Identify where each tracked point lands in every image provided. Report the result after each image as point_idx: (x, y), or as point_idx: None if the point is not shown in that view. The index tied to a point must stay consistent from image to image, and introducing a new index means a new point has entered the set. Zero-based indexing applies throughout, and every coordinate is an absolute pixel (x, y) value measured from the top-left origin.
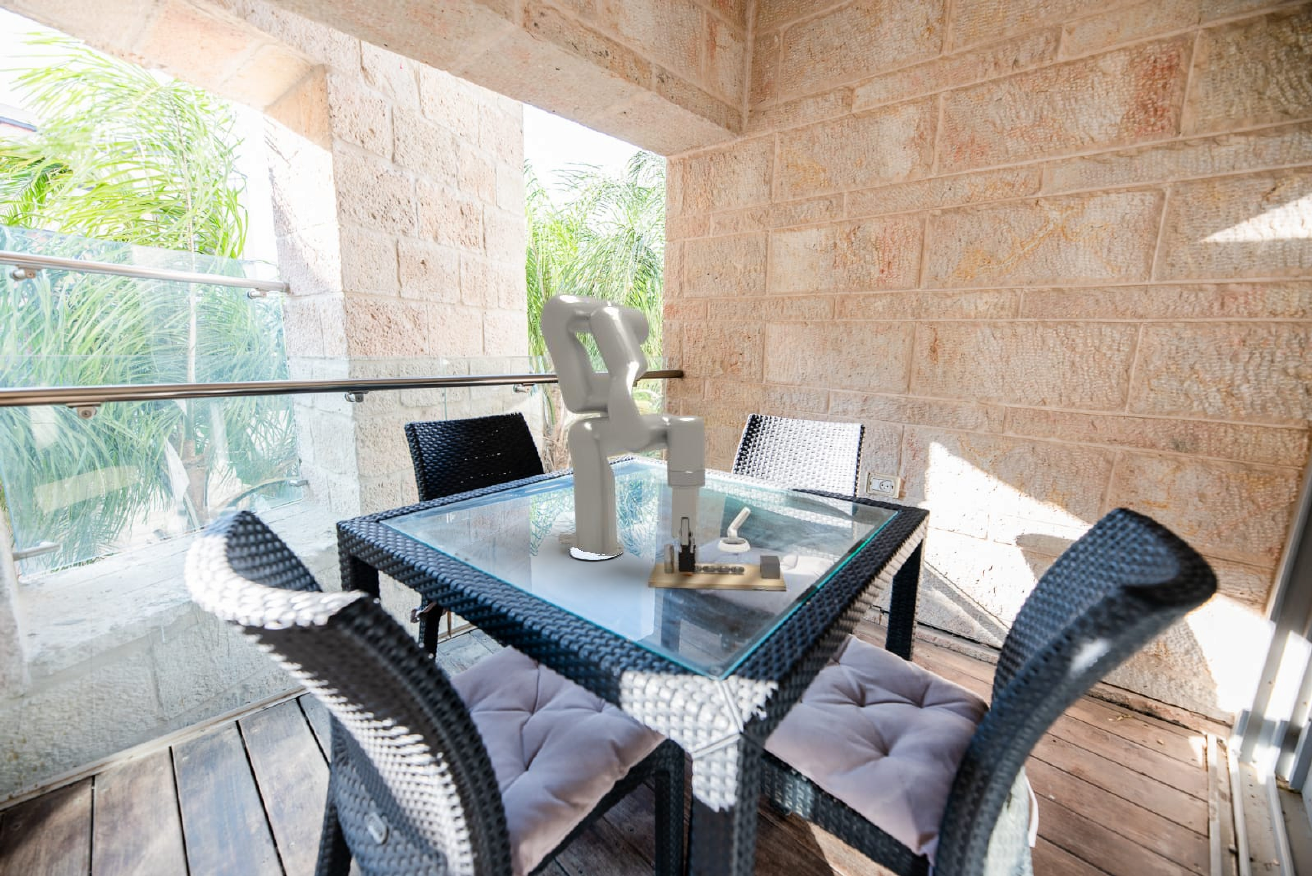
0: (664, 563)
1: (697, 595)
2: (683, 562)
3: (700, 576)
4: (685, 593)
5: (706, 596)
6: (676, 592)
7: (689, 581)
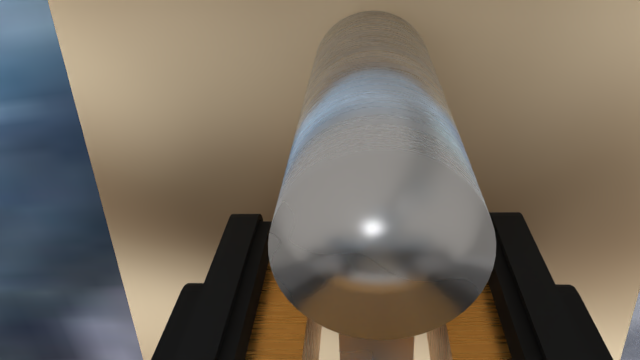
0: (341, 48)
1: (28, 299)
2: (172, 334)
3: None
4: (30, 223)
5: (35, 347)
6: (22, 157)
7: (158, 270)
